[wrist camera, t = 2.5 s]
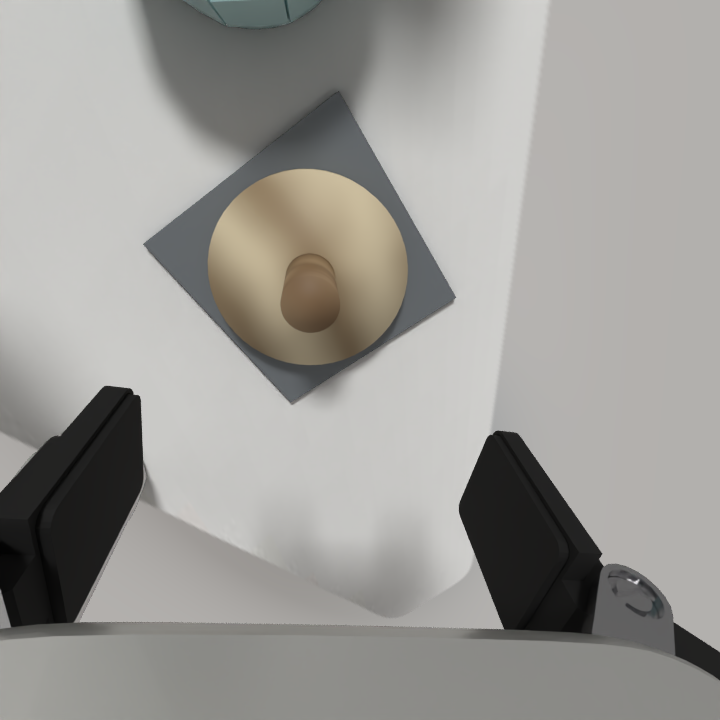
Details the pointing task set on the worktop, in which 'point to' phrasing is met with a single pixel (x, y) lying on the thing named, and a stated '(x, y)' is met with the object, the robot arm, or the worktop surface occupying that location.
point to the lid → (307, 267)
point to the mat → (303, 151)
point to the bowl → (254, 11)
